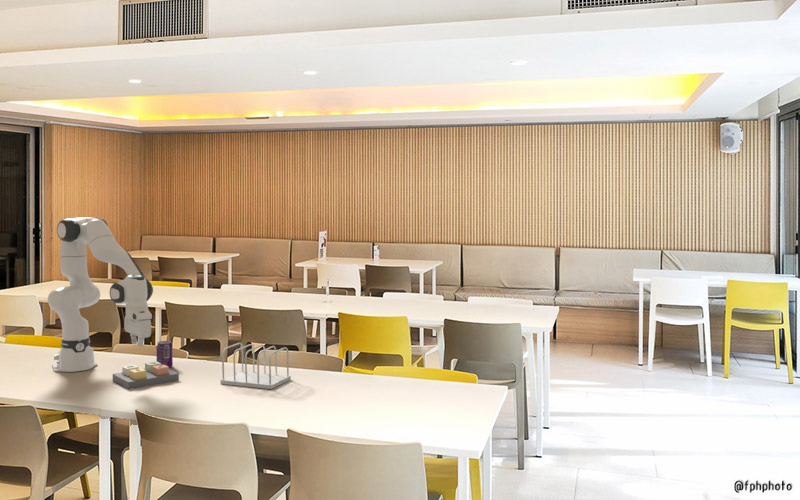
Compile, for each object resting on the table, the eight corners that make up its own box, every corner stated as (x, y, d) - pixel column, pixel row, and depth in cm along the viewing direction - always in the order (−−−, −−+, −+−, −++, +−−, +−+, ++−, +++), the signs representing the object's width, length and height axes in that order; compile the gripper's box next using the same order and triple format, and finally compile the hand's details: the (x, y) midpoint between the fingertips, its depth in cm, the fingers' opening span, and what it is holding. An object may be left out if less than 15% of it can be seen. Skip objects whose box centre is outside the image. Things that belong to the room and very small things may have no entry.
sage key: (145, 370, 303) (144, 362, 303) (156, 368, 307) (156, 360, 307) (149, 372, 299) (149, 364, 299) (161, 370, 303) (161, 362, 303)
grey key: (122, 373, 296) (122, 366, 296) (134, 371, 300) (134, 364, 300) (127, 376, 293) (126, 368, 292) (138, 374, 296) (138, 366, 296)
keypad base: (112, 380, 296) (112, 373, 296) (161, 372, 311) (161, 365, 311) (128, 389, 283) (128, 382, 283) (178, 380, 298) (178, 373, 298)
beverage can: (175, 365, 323) (174, 340, 323) (168, 369, 316) (168, 344, 316) (160, 365, 324) (160, 340, 323) (154, 368, 317) (153, 343, 316)
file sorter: (291, 380, 301) (291, 345, 300) (271, 390, 284) (271, 353, 283) (241, 374, 309) (241, 341, 308) (220, 384, 292) (219, 348, 291)
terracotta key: (152, 373, 297) (152, 365, 297) (163, 371, 301) (163, 364, 301) (157, 375, 294) (157, 368, 293) (168, 373, 297) (168, 366, 297)
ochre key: (129, 377, 291) (129, 369, 290) (141, 375, 294) (141, 367, 294) (134, 379, 287) (134, 372, 287) (146, 377, 290) (146, 370, 290)
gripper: (120, 310, 294) (120, 341, 295) (138, 316, 279) (139, 350, 280) (134, 309, 298) (135, 340, 299) (153, 315, 283) (154, 347, 284)
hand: (137, 344), depth 289 cm, fingers open, 5 cm apart
